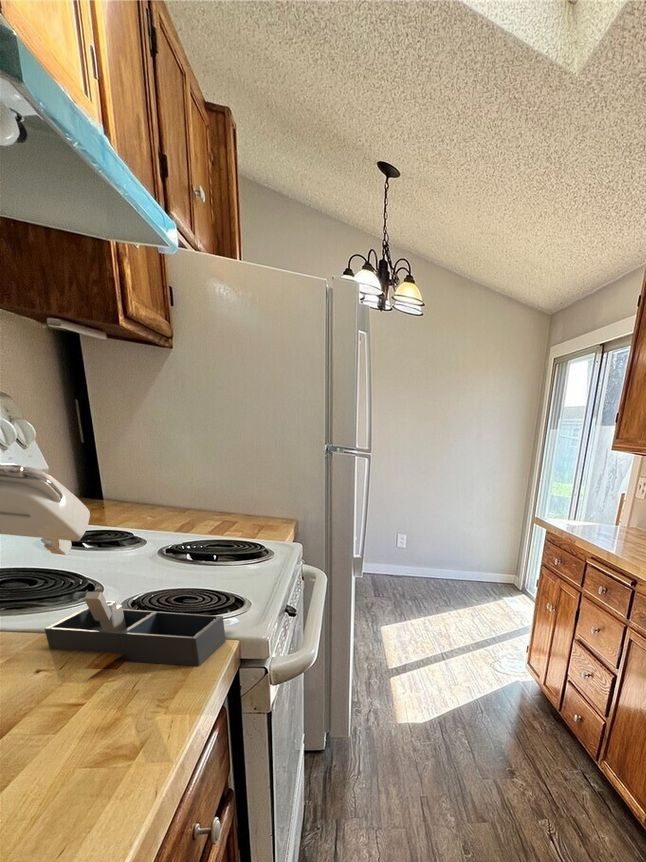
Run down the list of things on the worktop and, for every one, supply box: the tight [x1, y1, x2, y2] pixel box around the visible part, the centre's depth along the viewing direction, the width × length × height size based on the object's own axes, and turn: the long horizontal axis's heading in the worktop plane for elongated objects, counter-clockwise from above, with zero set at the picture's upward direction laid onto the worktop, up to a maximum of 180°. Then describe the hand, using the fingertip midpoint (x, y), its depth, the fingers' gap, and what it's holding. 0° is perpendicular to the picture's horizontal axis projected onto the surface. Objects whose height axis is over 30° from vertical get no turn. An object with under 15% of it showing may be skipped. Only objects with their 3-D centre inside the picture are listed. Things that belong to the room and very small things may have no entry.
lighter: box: [84, 591, 126, 632], centre depth 77 cm, size 7×2×8 cm, turn 15°
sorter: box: [44, 606, 227, 667], centre depth 79 cm, size 19×10×4 cm, turn 95°
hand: (17, 544), depth 61 cm, fingers open, 8 cm apart
